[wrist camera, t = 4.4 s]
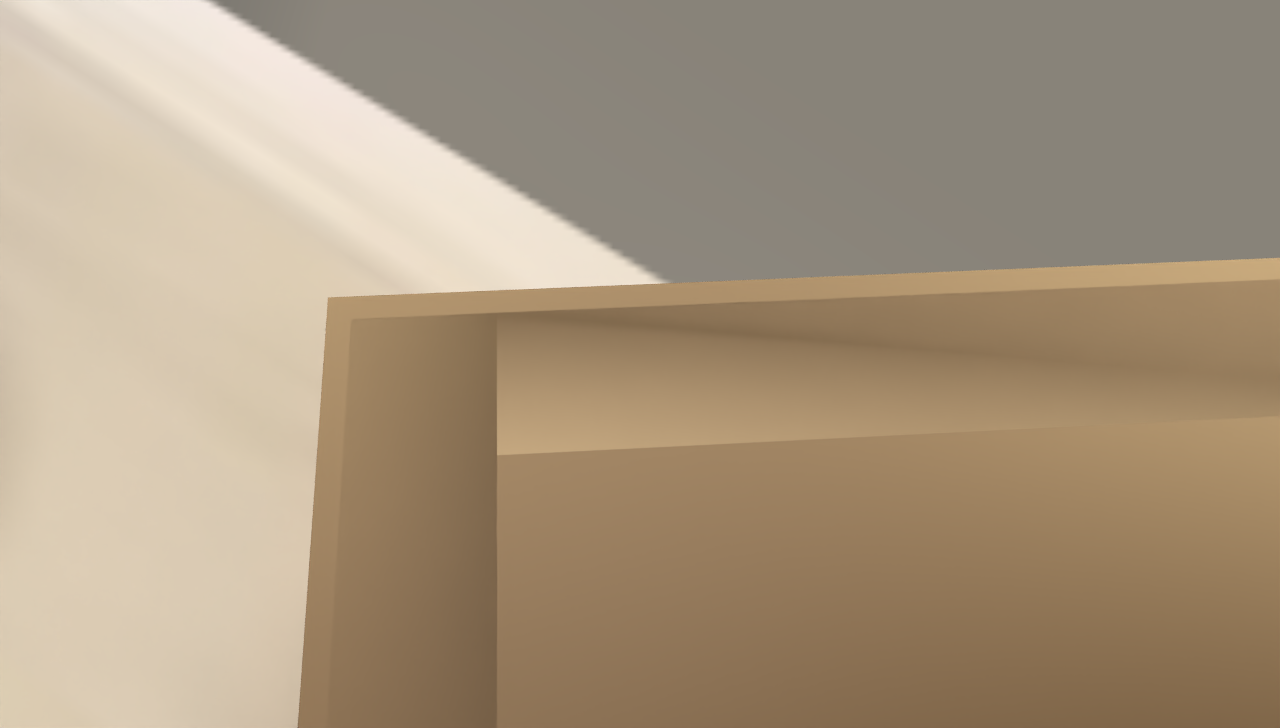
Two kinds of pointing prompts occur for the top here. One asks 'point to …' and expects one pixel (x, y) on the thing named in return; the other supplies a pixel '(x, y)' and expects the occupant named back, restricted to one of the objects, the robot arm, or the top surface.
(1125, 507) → the small crate
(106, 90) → the top surface
